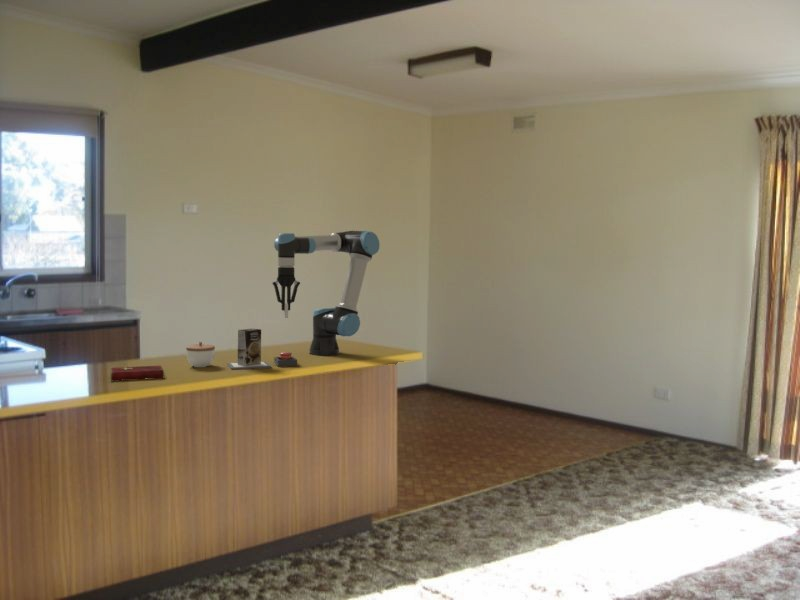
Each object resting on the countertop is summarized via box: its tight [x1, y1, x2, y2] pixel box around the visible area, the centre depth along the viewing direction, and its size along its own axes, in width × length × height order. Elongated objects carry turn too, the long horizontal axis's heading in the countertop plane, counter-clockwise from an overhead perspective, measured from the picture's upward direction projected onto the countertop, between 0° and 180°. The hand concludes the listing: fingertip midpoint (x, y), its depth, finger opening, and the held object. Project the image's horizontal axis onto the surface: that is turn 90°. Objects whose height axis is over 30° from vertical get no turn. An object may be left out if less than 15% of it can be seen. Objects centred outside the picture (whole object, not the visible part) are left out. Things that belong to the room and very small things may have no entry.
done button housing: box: [273, 356, 298, 367], centre depth 370 cm, size 9×9×3 cm
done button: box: [279, 351, 292, 360], centre depth 370 cm, size 6×6×3 cm
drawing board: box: [226, 361, 272, 370], centre depth 364 cm, size 18×13×1 cm
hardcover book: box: [109, 364, 165, 381], centre depth 335 cm, size 12×21×4 cm, turn 111°
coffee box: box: [237, 328, 262, 366], centre depth 364 cm, size 9×6×16 cm
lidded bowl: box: [185, 341, 216, 368], centre depth 362 cm, size 13×13×11 cm
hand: (285, 317), depth 368 cm, fingers closed
